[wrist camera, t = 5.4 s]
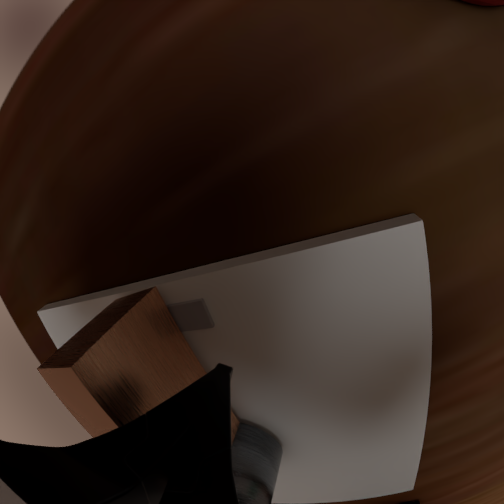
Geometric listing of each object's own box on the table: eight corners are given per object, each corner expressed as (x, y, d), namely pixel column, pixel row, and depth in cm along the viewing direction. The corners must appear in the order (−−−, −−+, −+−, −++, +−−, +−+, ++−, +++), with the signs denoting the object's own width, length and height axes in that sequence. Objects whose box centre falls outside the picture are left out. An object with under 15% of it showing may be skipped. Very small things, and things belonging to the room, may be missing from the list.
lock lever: (294, 465, 13) (278, 539, 9) (219, 465, 15) (194, 528, 10) (182, 277, 10) (97, 366, 6) (98, 305, 12) (23, 368, 7)
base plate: (413, 212, 9) (424, 222, 8) (412, 479, 14) (413, 491, 13) (47, 304, 15) (34, 313, 14) (181, 483, 21) (176, 492, 19)
